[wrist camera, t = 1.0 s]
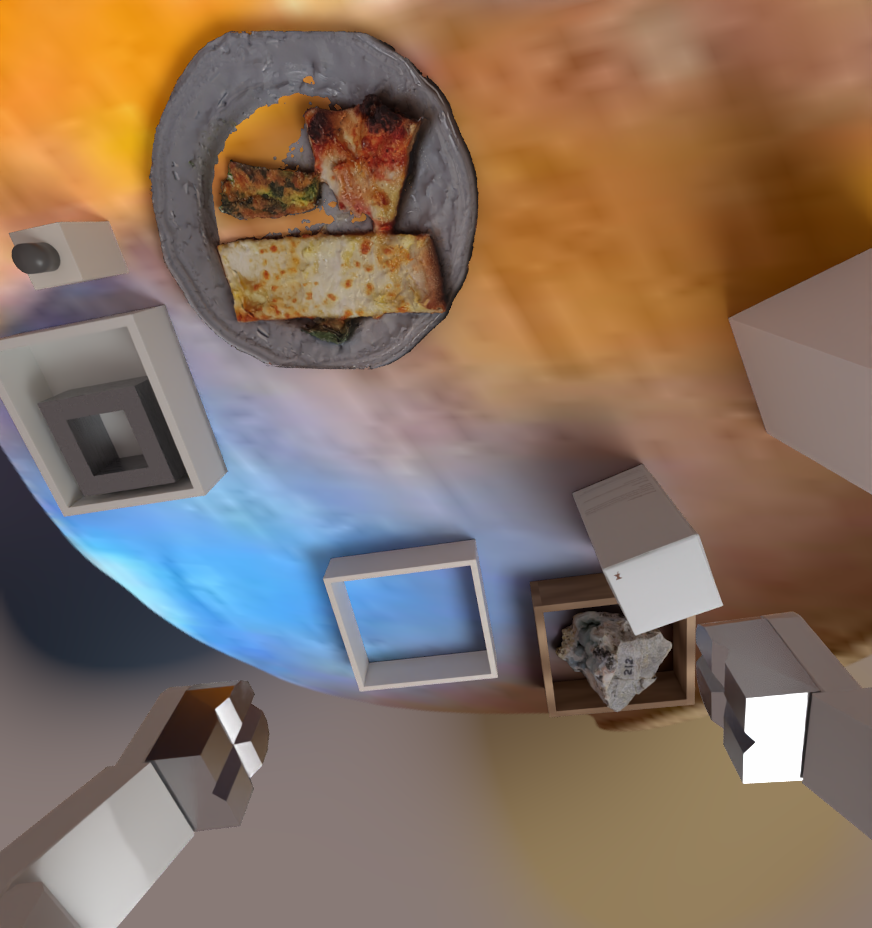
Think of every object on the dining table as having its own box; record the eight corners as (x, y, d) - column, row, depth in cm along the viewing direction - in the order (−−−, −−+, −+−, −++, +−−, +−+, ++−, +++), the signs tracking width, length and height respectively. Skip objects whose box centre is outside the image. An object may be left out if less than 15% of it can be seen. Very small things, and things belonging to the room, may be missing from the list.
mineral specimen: (575, 588, 63) (621, 659, 63) (529, 633, 59) (578, 708, 59) (636, 587, 54) (689, 669, 54) (587, 639, 50) (644, 727, 51)
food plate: (486, 39, 38) (486, 23, 34) (470, 367, 47) (469, 378, 44) (140, 38, 39) (110, 23, 36) (195, 356, 49) (175, 366, 46)
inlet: (68, 389, 49) (37, 403, 46) (159, 373, 48) (134, 386, 45) (110, 477, 53) (84, 496, 49) (195, 463, 52) (175, 482, 48)
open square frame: (331, 558, 56) (323, 578, 53) (475, 539, 55) (475, 559, 51) (365, 667, 62) (360, 691, 59) (496, 653, 61) (497, 677, 57)
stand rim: (529, 581, 56) (534, 606, 53) (680, 563, 55) (695, 588, 51) (544, 688, 62) (549, 717, 59) (680, 675, 61) (694, 704, 57)
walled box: (19, 333, 48) (-28, 345, 43) (164, 304, 46) (132, 314, 42) (97, 491, 54) (64, 516, 50) (227, 471, 53) (205, 495, 48)
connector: (65, 231, 44) (-14, 234, 37) (109, 221, 44) (38, 222, 36) (86, 281, 46) (15, 293, 39) (129, 272, 45) (65, 283, 38)
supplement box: (596, 550, 54) (632, 639, 43) (570, 491, 52) (600, 569, 40) (669, 523, 53) (726, 608, 41) (645, 461, 50) (699, 533, 39)
